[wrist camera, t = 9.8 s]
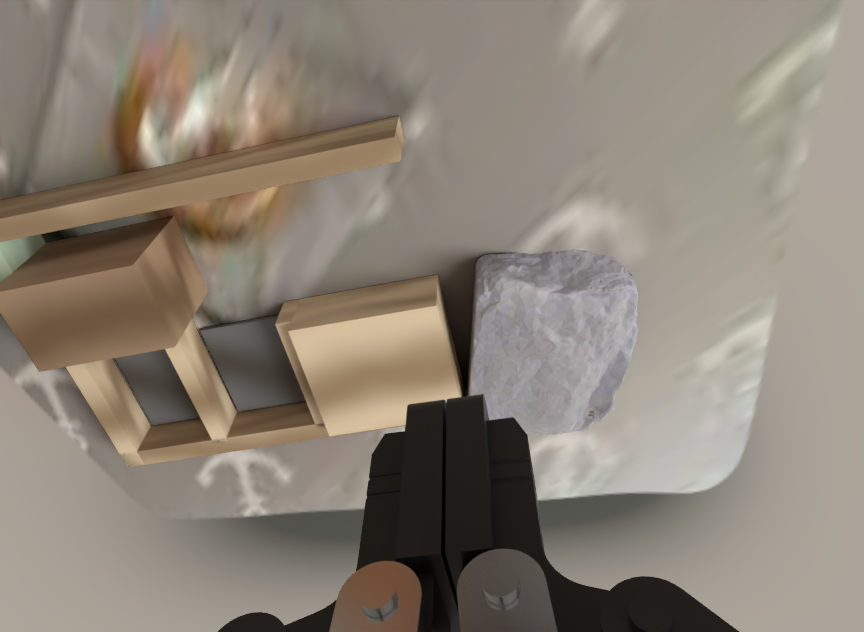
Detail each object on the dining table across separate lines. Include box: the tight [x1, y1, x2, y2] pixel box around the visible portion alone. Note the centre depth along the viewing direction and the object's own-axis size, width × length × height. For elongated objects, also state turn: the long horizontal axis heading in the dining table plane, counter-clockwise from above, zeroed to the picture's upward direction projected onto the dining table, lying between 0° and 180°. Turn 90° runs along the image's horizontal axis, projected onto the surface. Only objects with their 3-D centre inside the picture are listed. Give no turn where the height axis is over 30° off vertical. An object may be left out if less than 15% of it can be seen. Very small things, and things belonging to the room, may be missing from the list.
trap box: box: [0, 116, 466, 467], centre depth 40 cm, size 18×23×4 cm
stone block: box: [466, 250, 638, 434], centre depth 41 cm, size 12×5×10 cm
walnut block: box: [0, 216, 208, 372], centre depth 38 cm, size 5×8×6 cm, turn 103°
